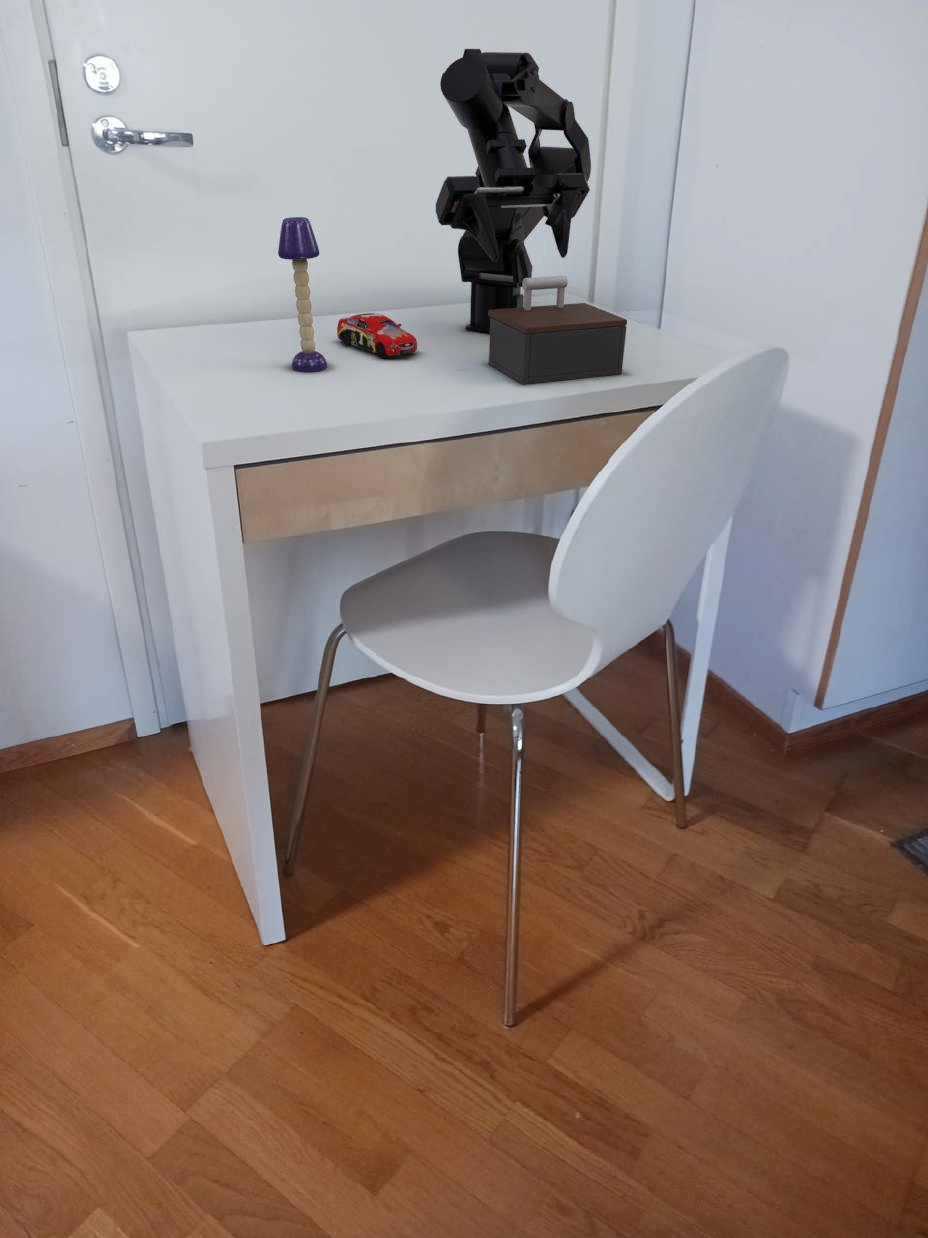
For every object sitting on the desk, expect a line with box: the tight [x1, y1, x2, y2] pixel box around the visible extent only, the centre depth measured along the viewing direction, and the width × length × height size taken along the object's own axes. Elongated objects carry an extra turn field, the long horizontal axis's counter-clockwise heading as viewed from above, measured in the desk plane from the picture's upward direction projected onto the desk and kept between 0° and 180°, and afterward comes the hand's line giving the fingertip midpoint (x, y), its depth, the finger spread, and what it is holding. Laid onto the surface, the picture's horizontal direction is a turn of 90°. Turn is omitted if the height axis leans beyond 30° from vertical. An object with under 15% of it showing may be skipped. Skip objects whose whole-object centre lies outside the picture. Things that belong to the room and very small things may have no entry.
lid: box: [488, 275, 628, 334], centre depth 112 cm, size 10×13×4 cm
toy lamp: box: [277, 216, 328, 373], centre depth 110 cm, size 5×5×17 cm
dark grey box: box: [488, 317, 627, 385], centre depth 115 cm, size 9×13×6 cm
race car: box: [336, 312, 418, 359], centre depth 122 cm, size 13×5×4 cm, turn 39°
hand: (530, 257), depth 116 cm, fingers open, 9 cm apart
